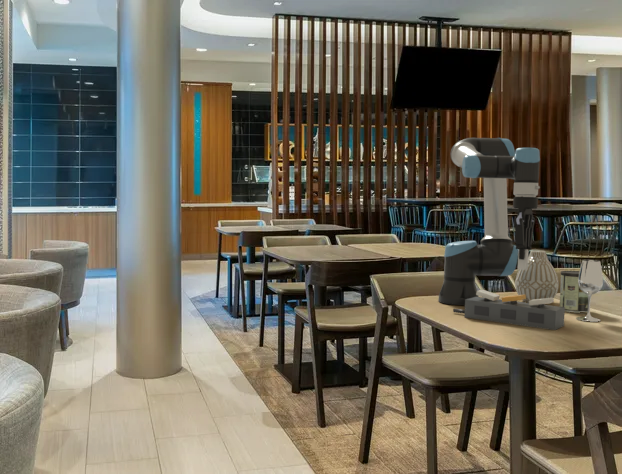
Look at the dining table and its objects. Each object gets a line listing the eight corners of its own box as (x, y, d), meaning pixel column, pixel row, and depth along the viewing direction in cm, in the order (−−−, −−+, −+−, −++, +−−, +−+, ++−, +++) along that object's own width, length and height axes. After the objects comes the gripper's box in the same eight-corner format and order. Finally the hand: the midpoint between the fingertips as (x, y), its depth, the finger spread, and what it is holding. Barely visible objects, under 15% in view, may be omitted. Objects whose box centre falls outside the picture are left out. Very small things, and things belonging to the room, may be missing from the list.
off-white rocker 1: (475, 294, 226) (476, 290, 226) (481, 293, 230) (482, 289, 230) (493, 300, 223) (494, 296, 222) (498, 299, 226) (499, 295, 226)
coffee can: (586, 309, 248) (588, 271, 247) (592, 314, 238) (594, 274, 237) (556, 307, 250) (558, 269, 249) (561, 312, 240) (563, 273, 239)
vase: (526, 297, 273) (529, 248, 272) (564, 303, 262) (567, 251, 260) (506, 301, 262) (508, 250, 260) (545, 307, 251) (548, 253, 249)
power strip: (447, 315, 230) (448, 295, 230) (459, 311, 237) (460, 292, 237) (554, 330, 208) (555, 308, 208) (563, 325, 216) (565, 304, 215)
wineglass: (571, 317, 231) (574, 259, 229) (593, 317, 231) (596, 259, 230) (582, 322, 223) (585, 261, 221) (605, 322, 223) (608, 262, 222)
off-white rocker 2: (529, 305, 215) (528, 300, 216) (534, 303, 219) (533, 299, 219) (549, 303, 212) (548, 299, 212) (553, 301, 215) (553, 297, 215)
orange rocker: (502, 301, 221) (501, 297, 221) (507, 300, 224) (506, 296, 224) (521, 300, 217) (520, 295, 217) (526, 298, 220) (525, 294, 221)
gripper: (530, 196, 209) (527, 271, 211) (544, 196, 220) (541, 269, 221) (506, 195, 214) (503, 270, 215) (521, 196, 224) (518, 267, 226)
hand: (522, 269), depth 218 cm, fingers closed
